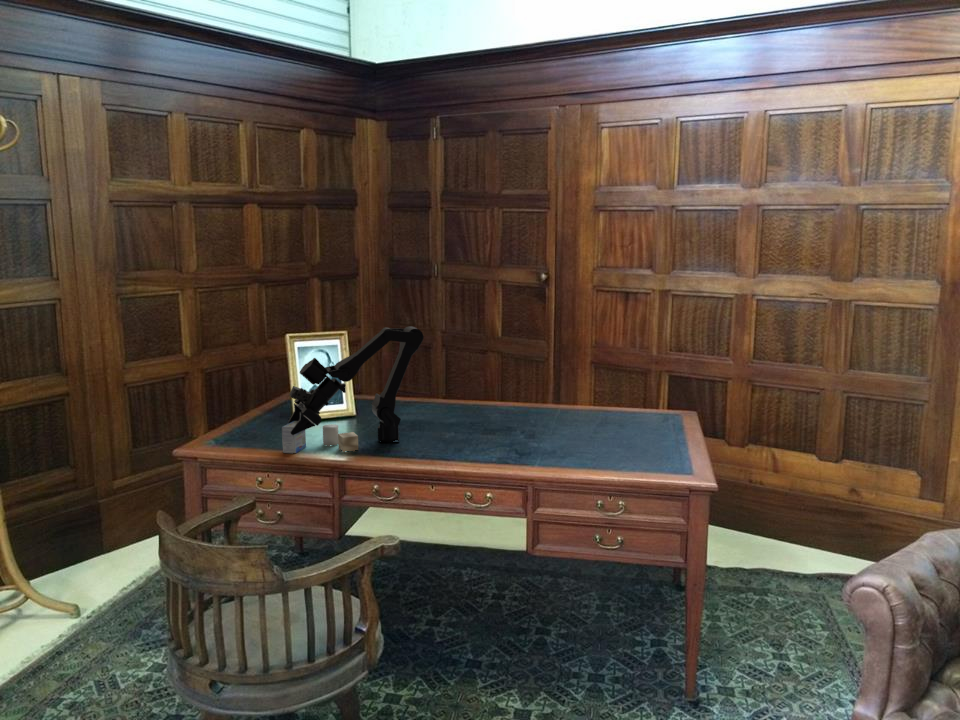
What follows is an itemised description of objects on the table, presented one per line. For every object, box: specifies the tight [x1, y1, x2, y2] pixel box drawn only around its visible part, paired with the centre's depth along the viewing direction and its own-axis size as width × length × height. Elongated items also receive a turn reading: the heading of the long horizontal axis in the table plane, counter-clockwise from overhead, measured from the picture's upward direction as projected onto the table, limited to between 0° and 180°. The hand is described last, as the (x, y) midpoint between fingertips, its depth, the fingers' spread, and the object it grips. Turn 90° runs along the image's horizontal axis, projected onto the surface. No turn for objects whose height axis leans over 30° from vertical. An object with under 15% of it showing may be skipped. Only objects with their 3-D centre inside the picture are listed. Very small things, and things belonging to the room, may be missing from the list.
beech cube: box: [337, 431, 359, 453], centre depth 254 cm, size 5×5×5 cm
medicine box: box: [281, 421, 307, 454], centre depth 253 cm, size 8×4×9 cm, turn 167°
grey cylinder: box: [322, 423, 339, 447], centre depth 260 cm, size 5×5×6 cm
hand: (289, 430), depth 252 cm, fingers closed on medicine box, 9 cm apart
